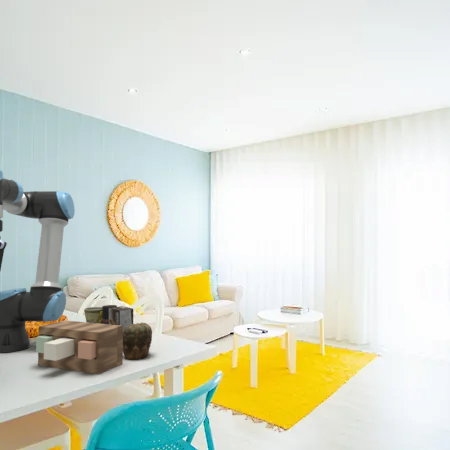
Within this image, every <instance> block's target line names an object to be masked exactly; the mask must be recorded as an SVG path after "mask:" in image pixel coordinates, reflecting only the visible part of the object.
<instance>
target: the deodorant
mask: <svg viewBox="0 0 450 450" xmlns="http://www.w3.org/2000/svg"><path fill="white" fill-rule="evenodd" d="M101 307H102V324H109V308H113V307H118V305H116V304H106V305H102V306H101Z"/></svg>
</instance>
